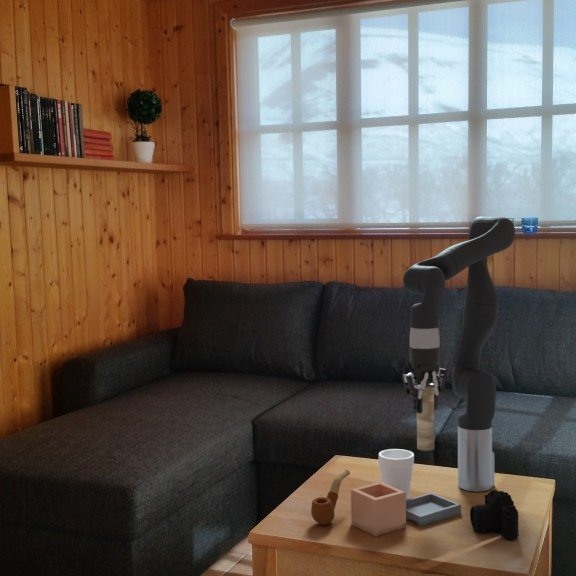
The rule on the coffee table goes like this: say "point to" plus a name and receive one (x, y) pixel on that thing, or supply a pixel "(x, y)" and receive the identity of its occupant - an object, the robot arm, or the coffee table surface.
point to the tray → (430, 509)
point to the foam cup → (397, 468)
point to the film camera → (496, 515)
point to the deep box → (378, 508)
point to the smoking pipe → (327, 502)
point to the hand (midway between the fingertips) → (425, 410)
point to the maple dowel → (426, 421)
